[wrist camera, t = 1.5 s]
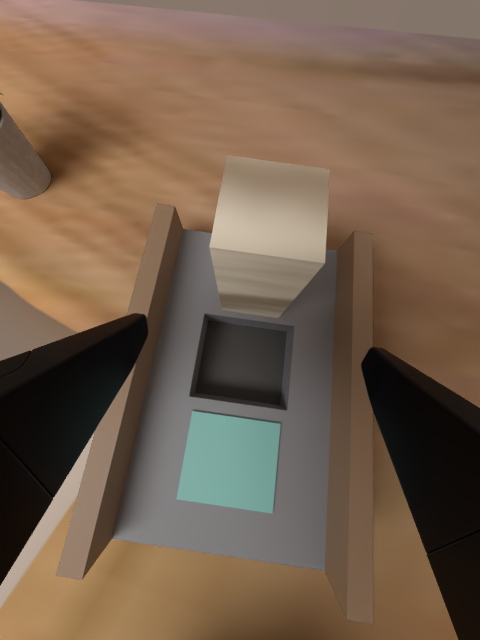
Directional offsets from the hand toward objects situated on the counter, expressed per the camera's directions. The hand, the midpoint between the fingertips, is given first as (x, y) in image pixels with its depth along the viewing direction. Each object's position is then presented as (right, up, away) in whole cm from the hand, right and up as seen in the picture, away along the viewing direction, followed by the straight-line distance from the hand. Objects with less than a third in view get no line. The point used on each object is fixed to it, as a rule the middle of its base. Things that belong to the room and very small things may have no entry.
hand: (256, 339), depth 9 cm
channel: (-1, -4, +12) cm, 13 cm away
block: (+1, +4, +11) cm, 11 cm away
